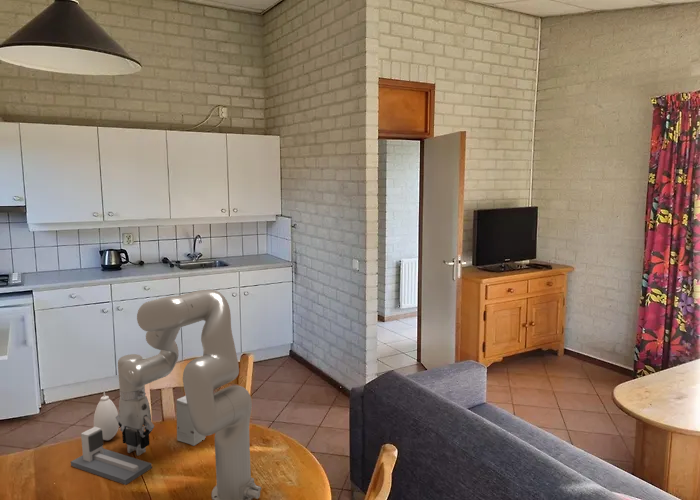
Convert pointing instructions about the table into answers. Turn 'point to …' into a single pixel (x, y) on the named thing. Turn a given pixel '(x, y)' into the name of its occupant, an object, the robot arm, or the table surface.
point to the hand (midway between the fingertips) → (136, 443)
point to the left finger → (133, 440)
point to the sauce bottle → (106, 417)
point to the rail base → (107, 460)
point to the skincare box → (186, 424)
